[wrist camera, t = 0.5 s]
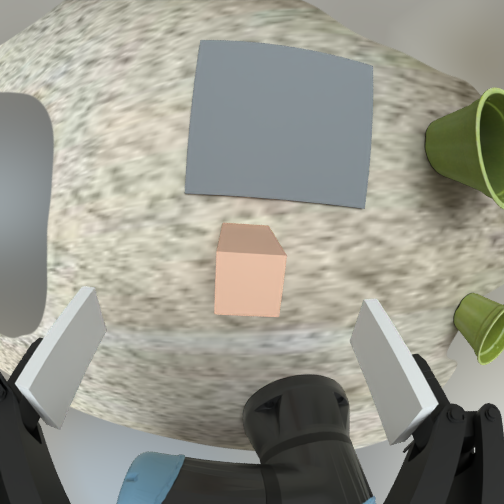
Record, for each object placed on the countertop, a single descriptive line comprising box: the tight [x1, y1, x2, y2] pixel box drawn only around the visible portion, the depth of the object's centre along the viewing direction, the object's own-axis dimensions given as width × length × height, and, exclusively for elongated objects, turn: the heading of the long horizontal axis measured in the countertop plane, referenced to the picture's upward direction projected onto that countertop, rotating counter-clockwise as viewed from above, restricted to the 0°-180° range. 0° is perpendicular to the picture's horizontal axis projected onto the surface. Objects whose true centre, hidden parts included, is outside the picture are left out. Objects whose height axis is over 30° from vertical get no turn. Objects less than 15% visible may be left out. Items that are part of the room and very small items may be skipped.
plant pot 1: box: [425, 88, 504, 209], centre depth 21 cm, size 12×12×11 cm
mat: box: [185, 40, 373, 209], centre depth 24 cm, size 16×18×1 cm
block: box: [214, 223, 287, 317], centre depth 23 cm, size 4×4×10 cm
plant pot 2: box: [454, 293, 504, 365], centre depth 29 cm, size 9×9×9 cm
